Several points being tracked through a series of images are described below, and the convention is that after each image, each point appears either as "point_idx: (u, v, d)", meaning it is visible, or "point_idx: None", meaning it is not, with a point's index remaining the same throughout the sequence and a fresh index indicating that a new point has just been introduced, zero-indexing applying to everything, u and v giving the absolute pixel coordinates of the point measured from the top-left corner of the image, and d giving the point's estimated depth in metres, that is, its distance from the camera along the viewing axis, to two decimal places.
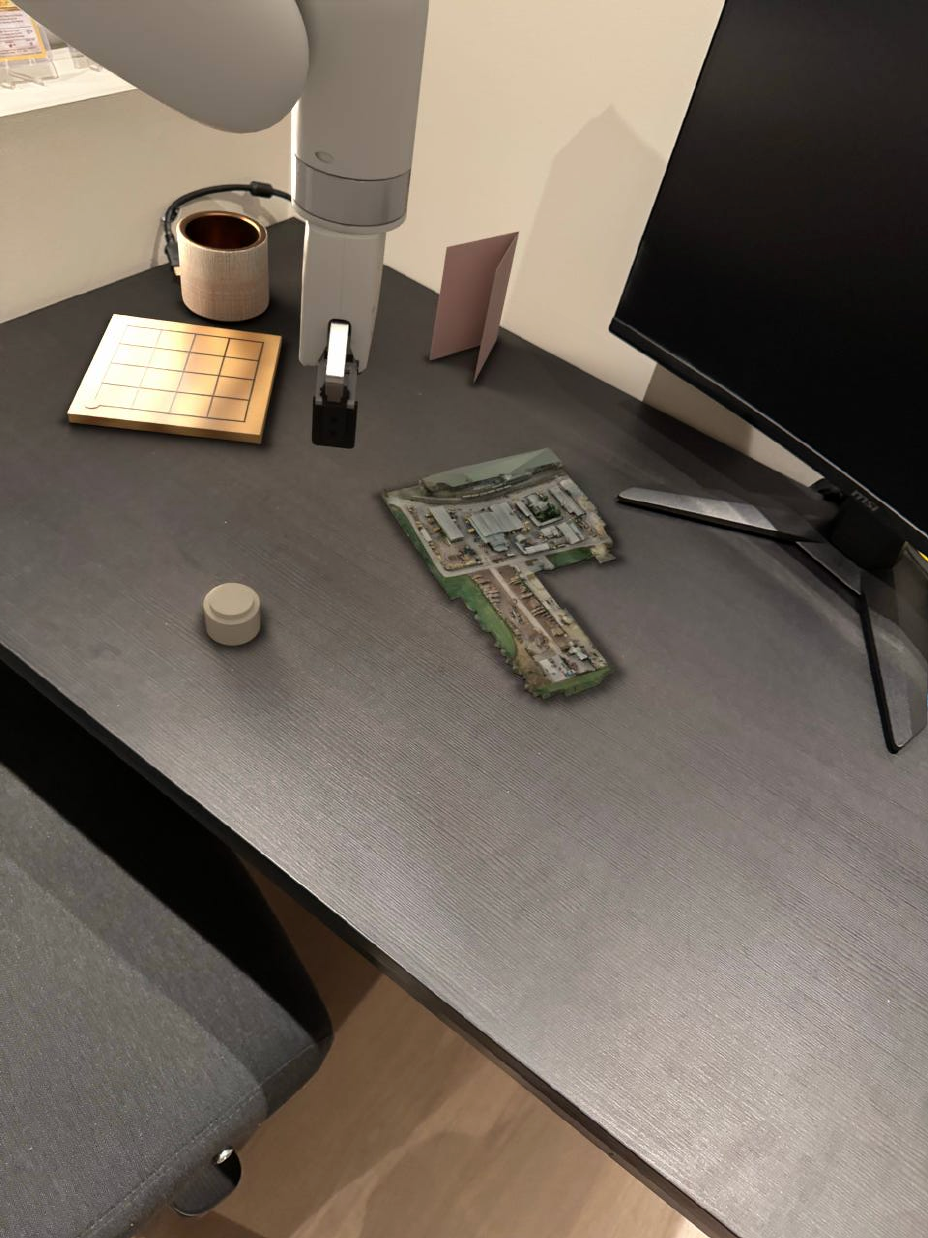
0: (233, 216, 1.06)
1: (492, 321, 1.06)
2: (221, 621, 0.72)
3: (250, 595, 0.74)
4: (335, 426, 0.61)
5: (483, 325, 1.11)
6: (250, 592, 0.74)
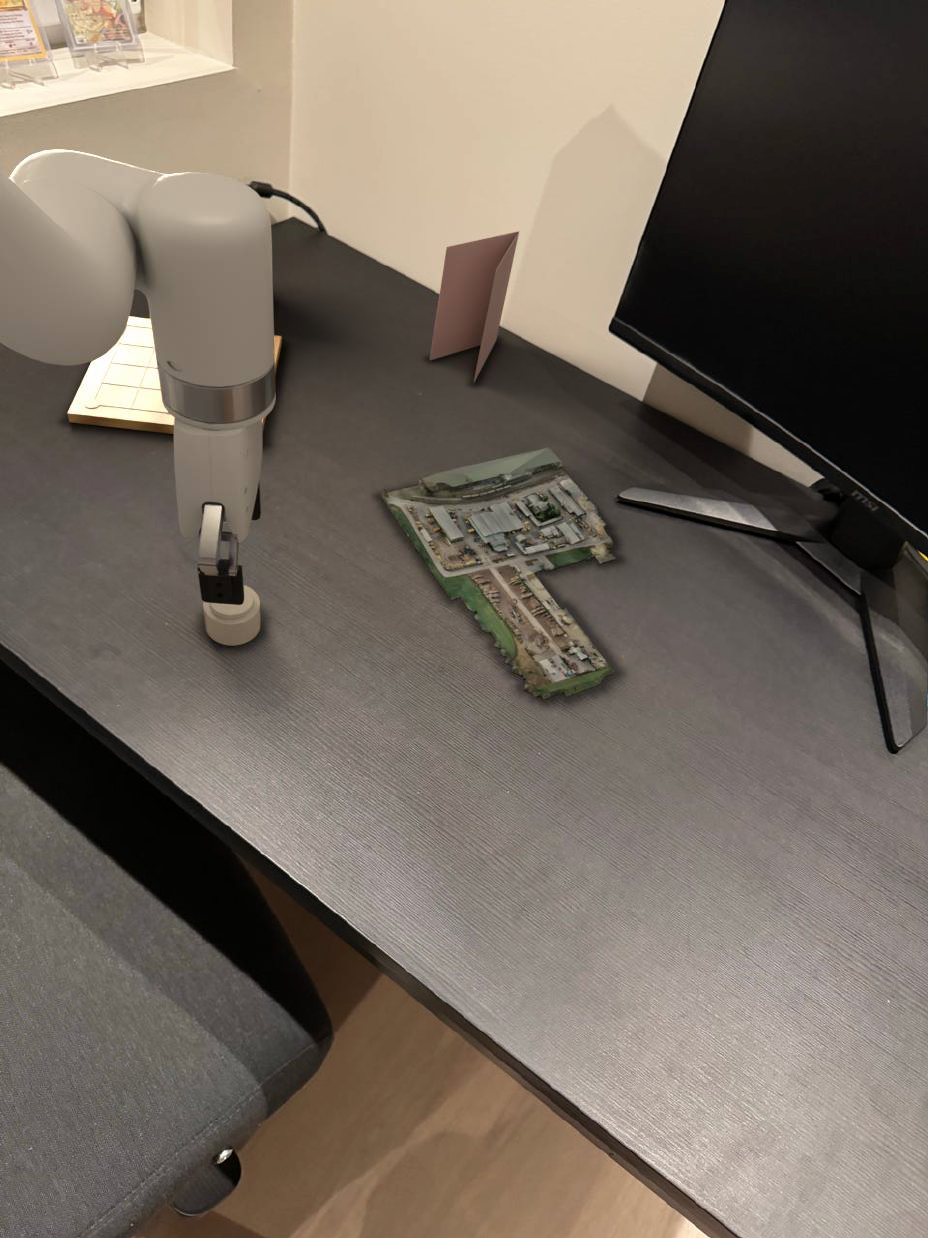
0: None
1: (492, 321, 1.06)
2: (221, 621, 0.72)
3: (250, 595, 0.74)
4: (220, 589, 0.64)
5: (483, 325, 1.11)
6: (250, 592, 0.74)
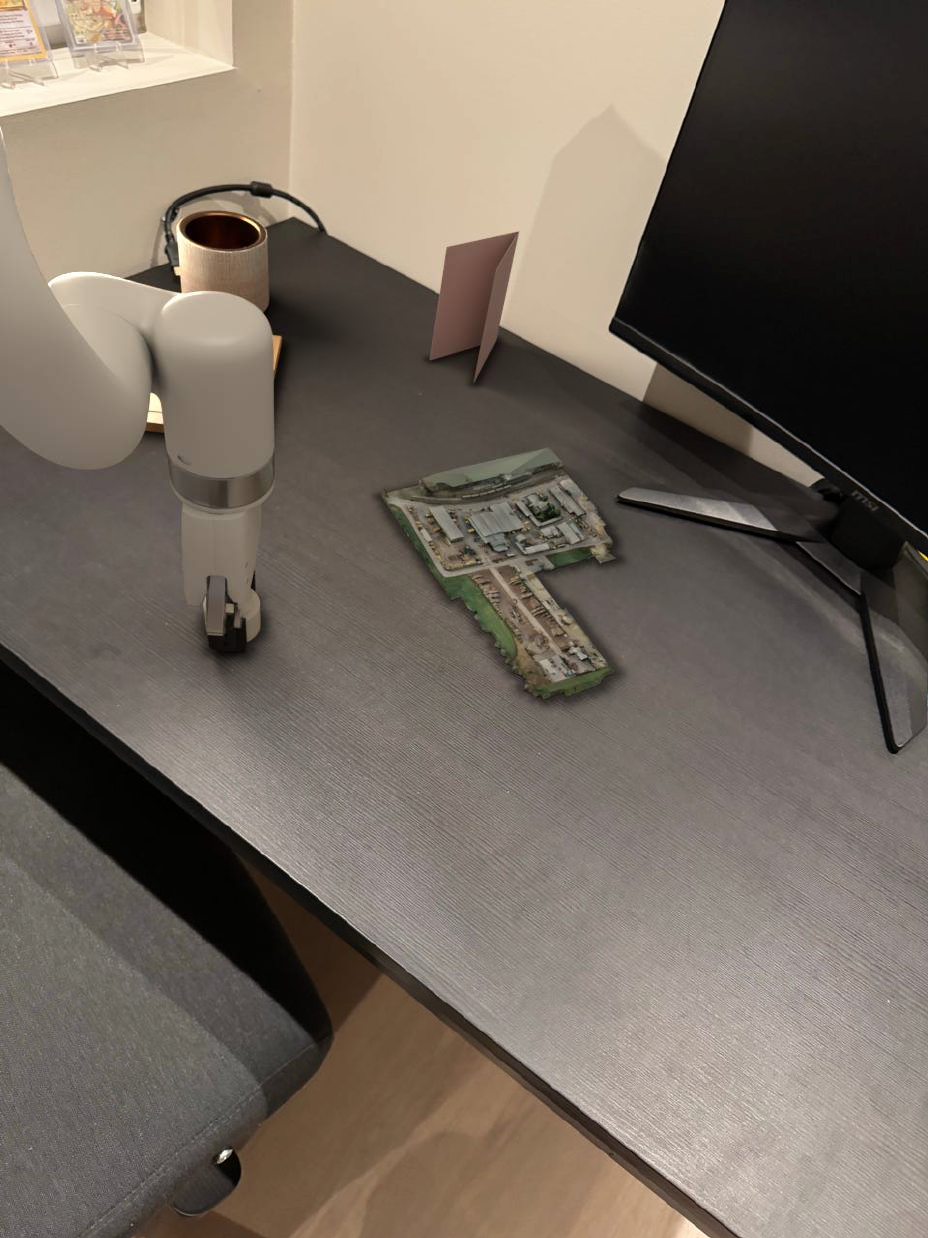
0: (233, 216, 1.06)
1: (492, 321, 1.06)
2: None
3: (250, 595, 0.74)
4: (226, 639, 0.71)
5: (483, 325, 1.11)
6: (250, 592, 0.74)
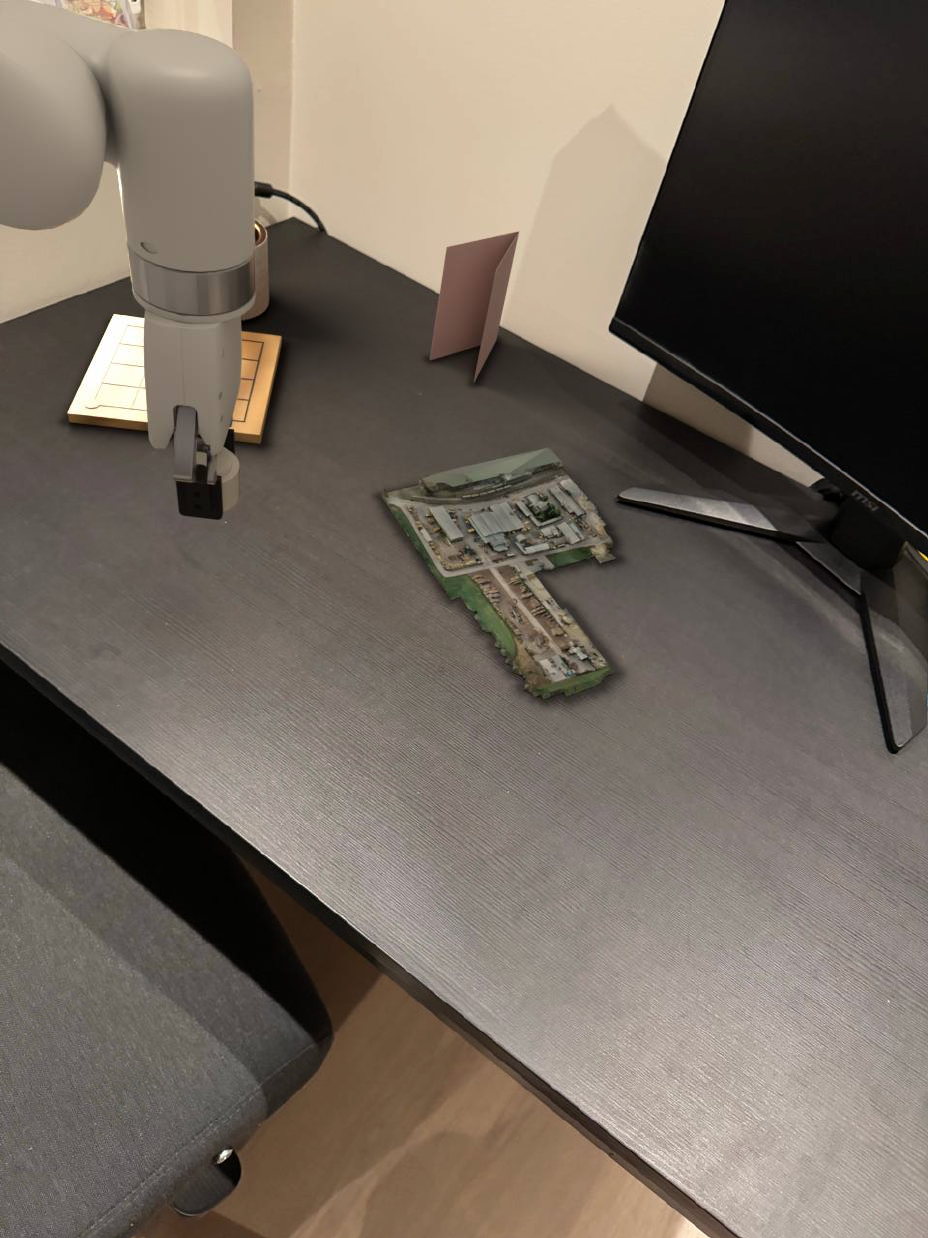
0: None
1: (492, 321, 1.06)
2: None
3: (228, 456, 0.64)
4: (198, 500, 0.62)
5: (483, 325, 1.11)
6: (228, 452, 0.65)
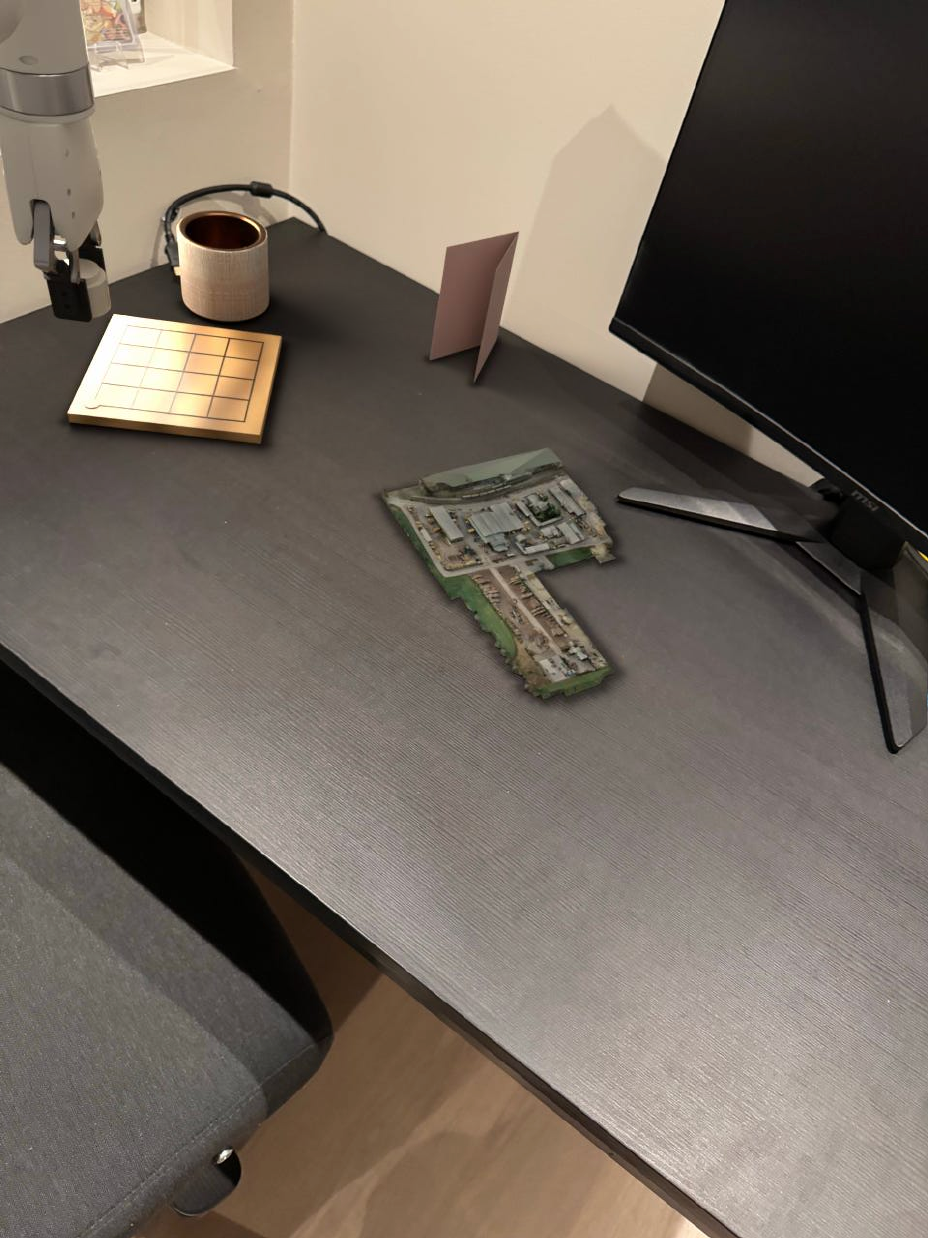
0: (233, 216, 1.06)
1: (492, 321, 1.06)
2: None
3: (96, 268, 0.76)
4: (67, 299, 0.74)
5: (483, 325, 1.11)
6: (96, 265, 0.77)
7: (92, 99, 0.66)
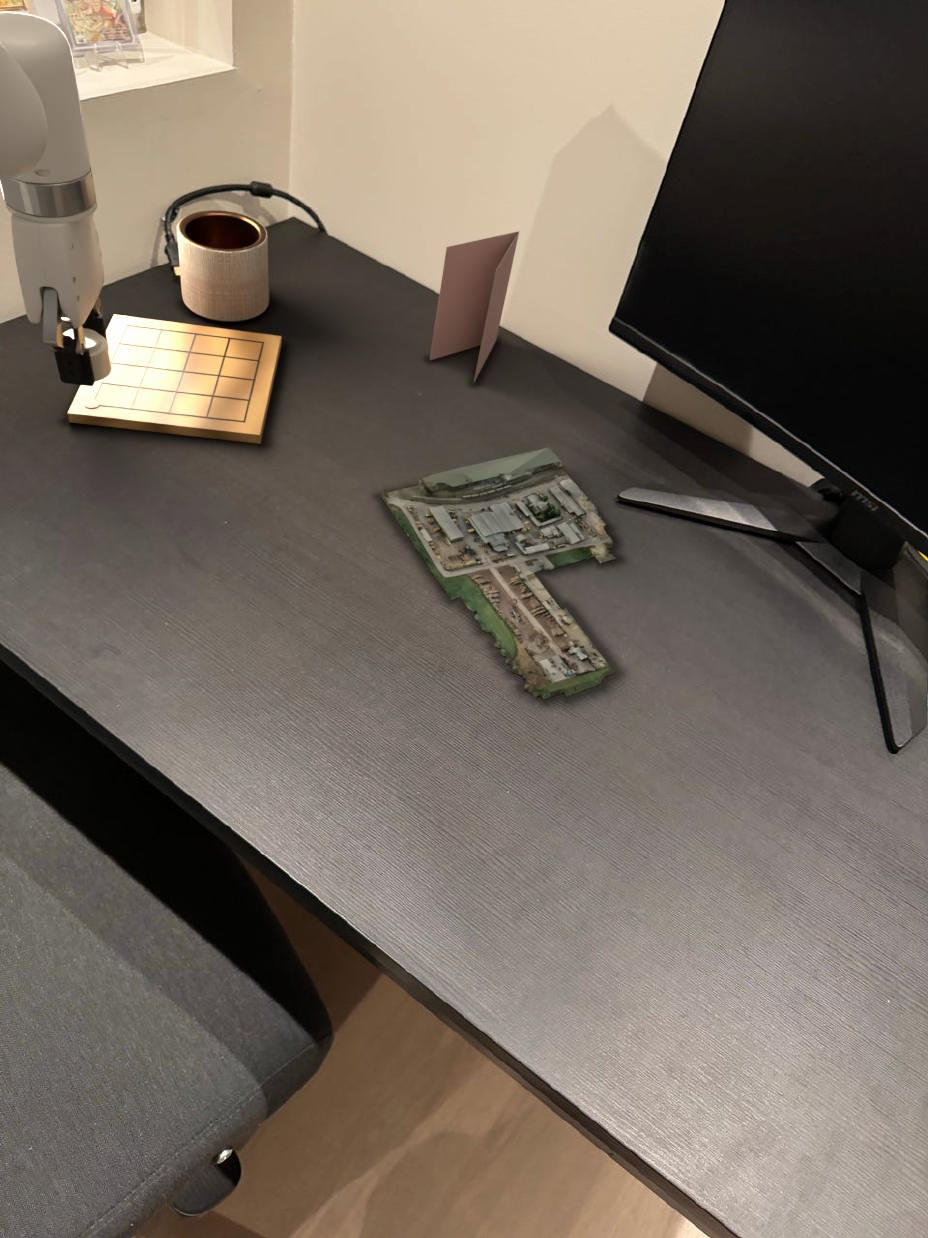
0: (233, 216, 1.06)
1: (492, 321, 1.06)
2: None
3: (97, 337, 0.85)
4: (72, 367, 0.83)
5: (483, 325, 1.11)
6: (98, 335, 0.86)
7: (94, 199, 0.75)
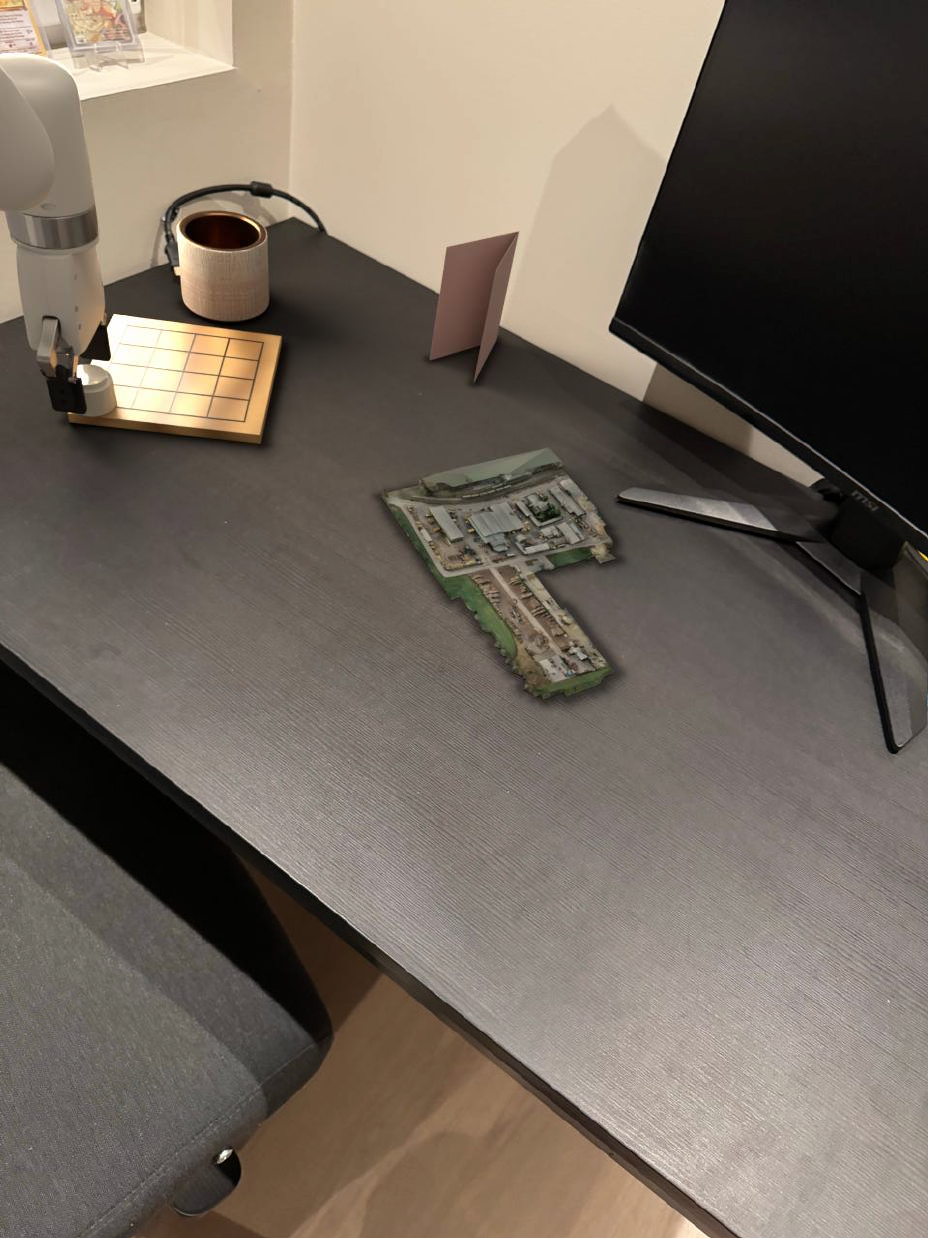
0: (233, 216, 1.06)
1: (492, 321, 1.06)
2: None
3: (104, 373, 0.88)
4: (64, 396, 0.82)
5: (483, 325, 1.11)
6: (104, 371, 0.89)
7: (97, 231, 0.77)
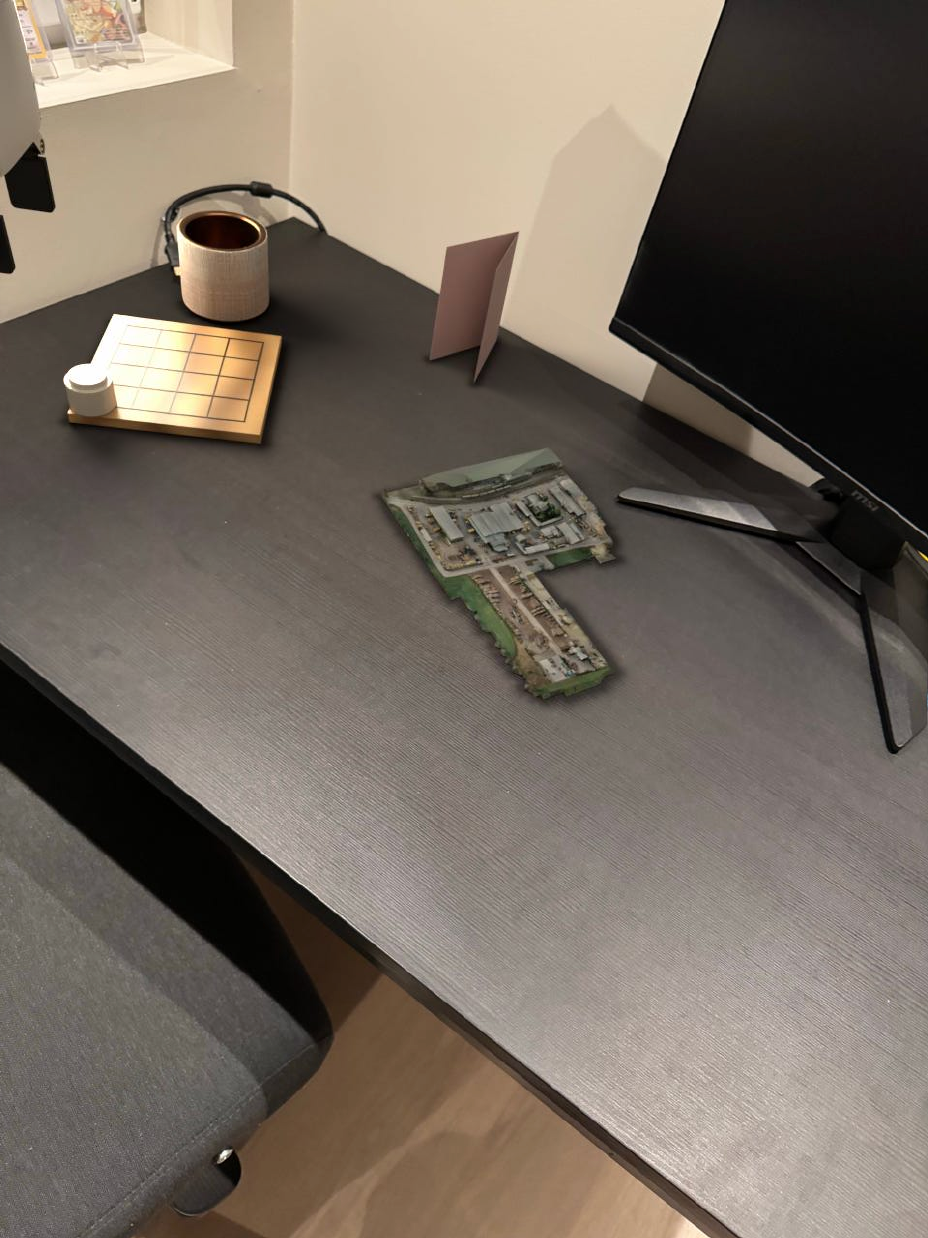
0: (233, 216, 1.06)
1: (492, 321, 1.06)
2: (77, 390, 0.87)
3: (104, 373, 0.88)
4: None
5: (483, 325, 1.11)
6: (104, 371, 0.89)
7: None
